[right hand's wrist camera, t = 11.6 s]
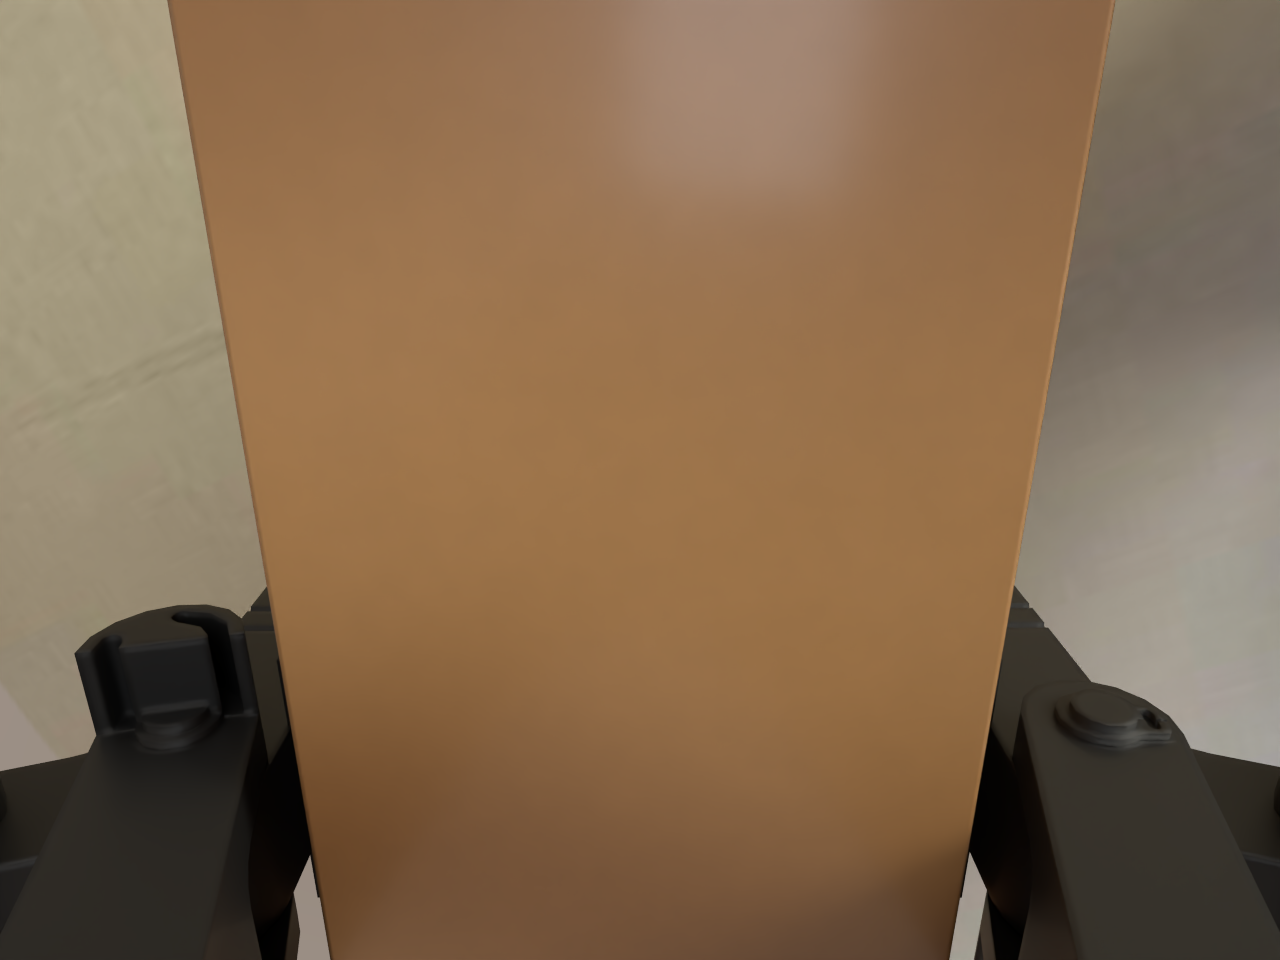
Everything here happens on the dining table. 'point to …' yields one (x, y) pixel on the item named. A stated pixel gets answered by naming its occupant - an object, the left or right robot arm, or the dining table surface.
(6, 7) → the dining table surface
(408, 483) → the board
